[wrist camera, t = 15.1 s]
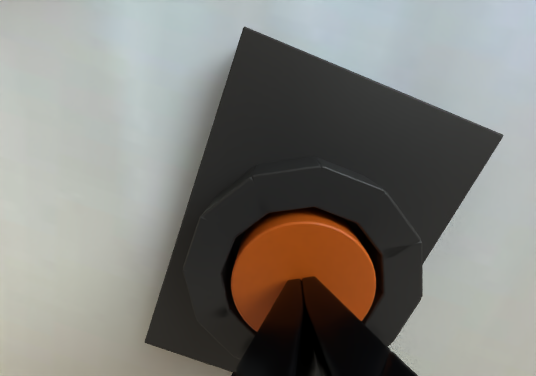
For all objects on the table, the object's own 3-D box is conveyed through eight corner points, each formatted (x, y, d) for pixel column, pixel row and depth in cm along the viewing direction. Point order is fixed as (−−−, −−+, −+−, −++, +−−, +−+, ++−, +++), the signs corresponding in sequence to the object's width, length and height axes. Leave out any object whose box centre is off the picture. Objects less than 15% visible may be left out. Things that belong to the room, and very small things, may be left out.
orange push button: (328, 323, 10) (338, 364, 8) (223, 286, 10) (211, 321, 8) (380, 228, 9) (405, 253, 7) (263, 183, 9) (259, 198, 7)
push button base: (327, 370, 13) (343, 456, 10) (161, 314, 13) (118, 384, 9) (467, 132, 10) (565, 139, 7) (249, 41, 9) (233, -1, 6)
